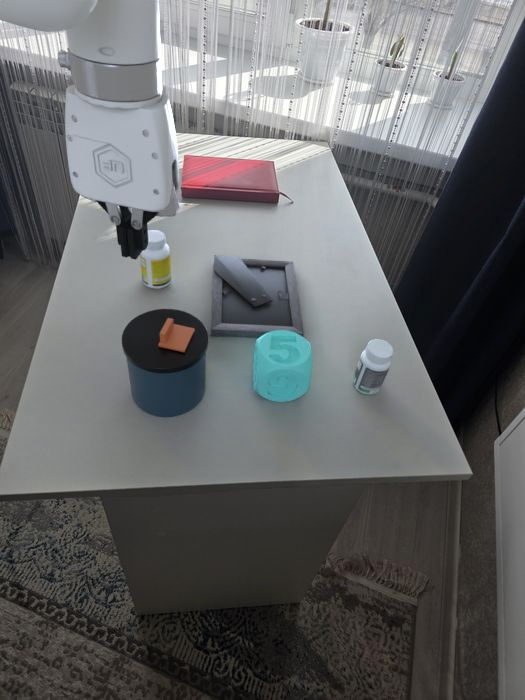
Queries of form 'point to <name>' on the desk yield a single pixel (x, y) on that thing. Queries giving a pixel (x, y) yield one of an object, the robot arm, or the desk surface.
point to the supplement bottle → (156, 261)
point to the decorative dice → (282, 366)
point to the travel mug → (165, 364)
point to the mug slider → (175, 336)
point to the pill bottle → (373, 366)
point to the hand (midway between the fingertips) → (134, 251)
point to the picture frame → (254, 297)
